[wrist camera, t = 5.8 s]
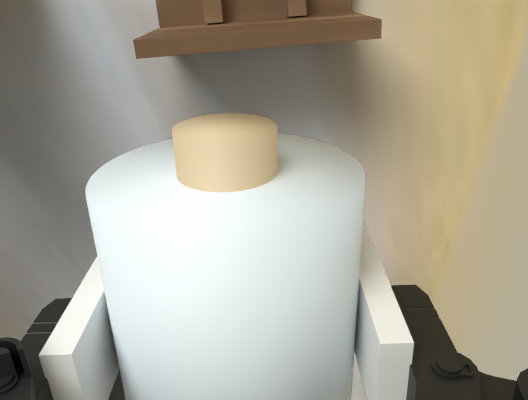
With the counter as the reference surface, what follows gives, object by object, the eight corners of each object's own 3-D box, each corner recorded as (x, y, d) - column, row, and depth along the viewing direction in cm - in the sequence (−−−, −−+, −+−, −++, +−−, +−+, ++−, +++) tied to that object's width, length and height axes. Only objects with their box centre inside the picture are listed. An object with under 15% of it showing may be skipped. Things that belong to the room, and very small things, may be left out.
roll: (304, 356, 21) (385, 514, 15) (135, 394, 19) (148, 590, 13) (307, 86, 16) (429, 156, 10) (83, 106, 14) (63, 204, 8)
